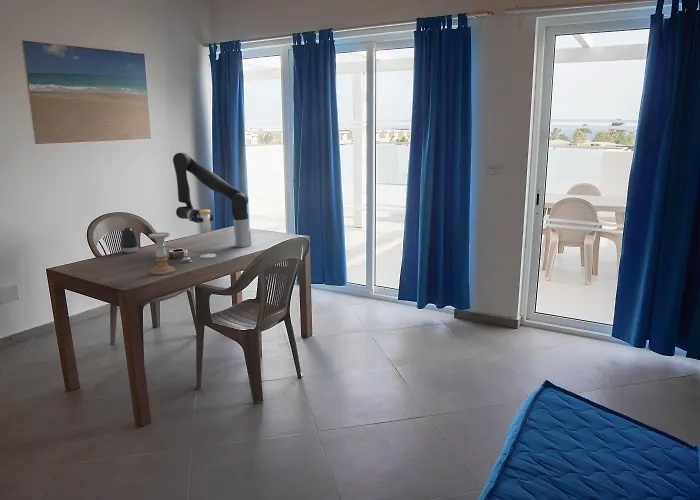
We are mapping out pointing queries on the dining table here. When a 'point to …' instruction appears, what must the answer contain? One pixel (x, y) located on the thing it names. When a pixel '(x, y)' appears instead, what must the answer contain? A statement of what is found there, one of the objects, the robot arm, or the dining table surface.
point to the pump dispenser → (128, 240)
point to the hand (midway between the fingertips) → (207, 219)
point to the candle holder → (161, 255)
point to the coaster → (208, 255)
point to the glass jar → (205, 220)
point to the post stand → (186, 260)
